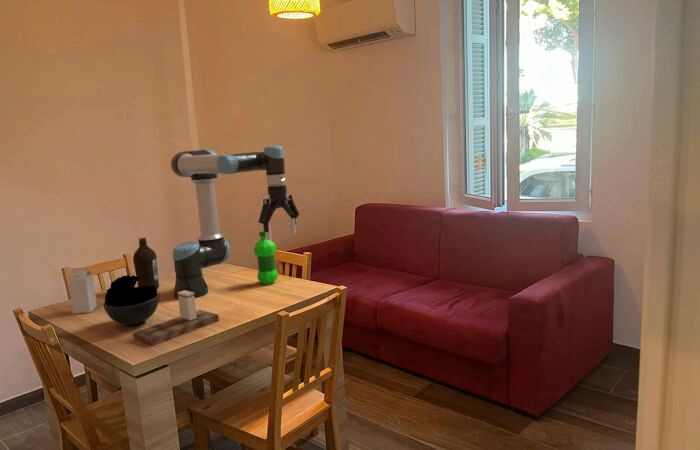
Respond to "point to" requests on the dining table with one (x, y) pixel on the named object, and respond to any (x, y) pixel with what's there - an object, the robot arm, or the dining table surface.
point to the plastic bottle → (266, 259)
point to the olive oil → (146, 265)
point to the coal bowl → (130, 301)
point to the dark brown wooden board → (174, 328)
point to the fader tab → (187, 305)
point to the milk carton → (82, 290)
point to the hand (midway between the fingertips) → (281, 236)
